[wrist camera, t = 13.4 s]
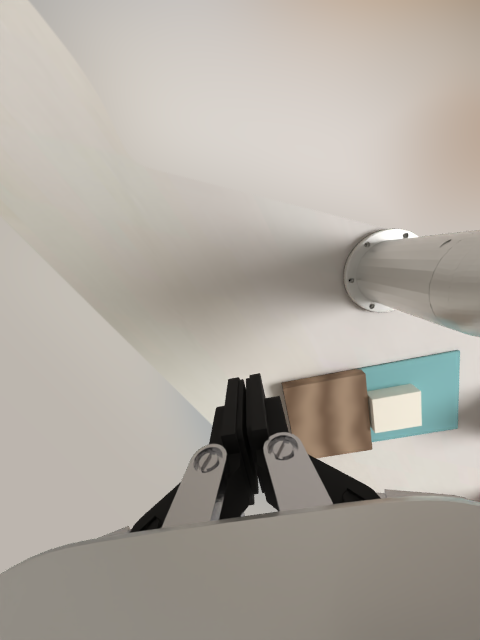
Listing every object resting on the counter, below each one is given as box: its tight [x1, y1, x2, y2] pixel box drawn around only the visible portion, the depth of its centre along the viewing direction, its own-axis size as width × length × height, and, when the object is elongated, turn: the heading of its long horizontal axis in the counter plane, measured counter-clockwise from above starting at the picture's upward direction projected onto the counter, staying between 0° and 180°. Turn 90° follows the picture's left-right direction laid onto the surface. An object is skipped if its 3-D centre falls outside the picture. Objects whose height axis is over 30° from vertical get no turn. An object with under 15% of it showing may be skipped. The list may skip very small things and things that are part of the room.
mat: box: [358, 350, 460, 442], centre depth 42 cm, size 17×16×1 cm
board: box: [282, 369, 372, 458], centre depth 42 cm, size 14×16×2 cm
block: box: [367, 384, 422, 433], centre depth 41 cm, size 8×7×2 cm
